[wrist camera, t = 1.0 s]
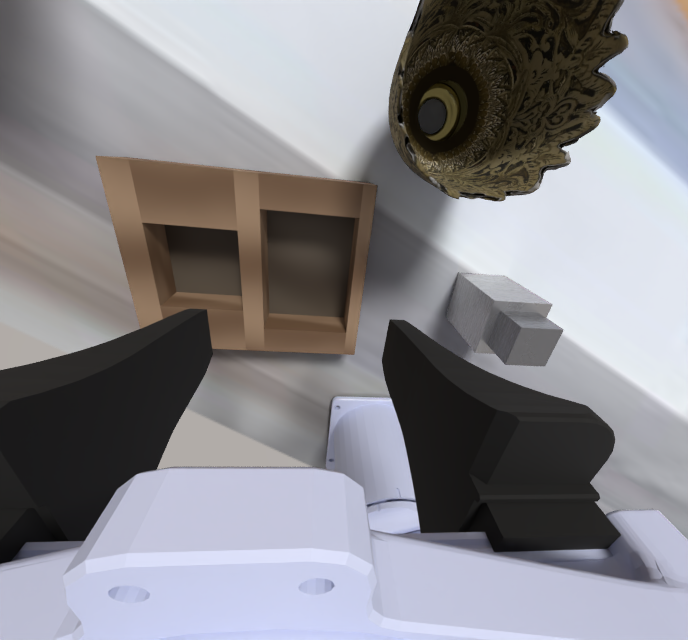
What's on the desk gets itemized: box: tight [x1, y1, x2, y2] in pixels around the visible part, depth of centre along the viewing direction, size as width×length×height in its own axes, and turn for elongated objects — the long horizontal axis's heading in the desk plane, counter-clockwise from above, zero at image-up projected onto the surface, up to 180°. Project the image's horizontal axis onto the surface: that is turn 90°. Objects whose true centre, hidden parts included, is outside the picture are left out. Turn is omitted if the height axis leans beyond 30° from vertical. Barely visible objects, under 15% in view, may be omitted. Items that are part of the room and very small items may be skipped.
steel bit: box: [446, 272, 563, 366], centre depth 19 cm, size 4×4×7 cm
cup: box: [389, 0, 628, 201], centre depth 13 cm, size 8×7×8 cm
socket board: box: [96, 156, 377, 355], centre depth 19 cm, size 11×14×2 cm
